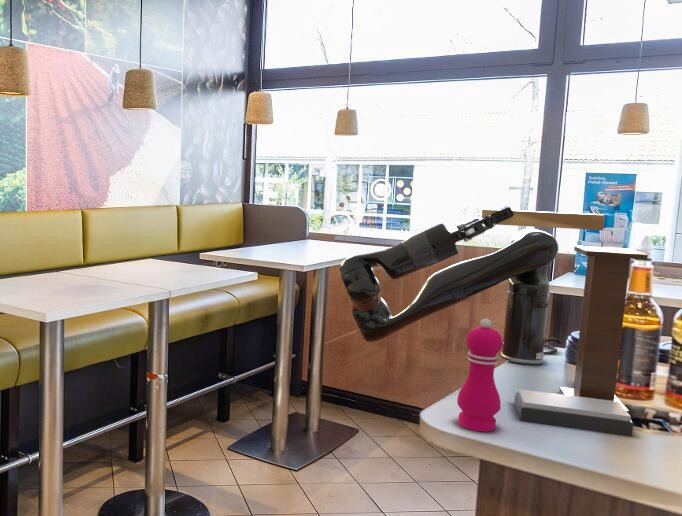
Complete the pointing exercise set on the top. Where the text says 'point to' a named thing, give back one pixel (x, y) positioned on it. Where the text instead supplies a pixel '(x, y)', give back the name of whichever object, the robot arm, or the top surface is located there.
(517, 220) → the beech stick
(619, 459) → the top surface
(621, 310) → the stand
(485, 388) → the pepper mill
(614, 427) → the scale
